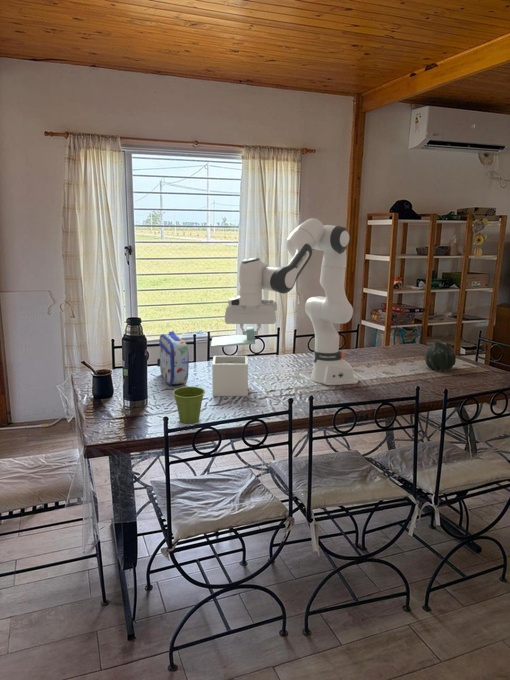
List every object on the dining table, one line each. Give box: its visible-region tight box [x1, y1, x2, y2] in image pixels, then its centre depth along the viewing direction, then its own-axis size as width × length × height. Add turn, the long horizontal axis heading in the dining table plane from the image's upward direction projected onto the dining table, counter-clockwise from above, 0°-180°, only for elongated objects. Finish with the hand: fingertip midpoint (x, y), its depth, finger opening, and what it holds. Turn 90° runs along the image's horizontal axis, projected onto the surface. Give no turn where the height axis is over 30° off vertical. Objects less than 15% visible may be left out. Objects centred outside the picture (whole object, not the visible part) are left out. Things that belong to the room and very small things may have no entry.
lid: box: [210, 326, 256, 349], centre depth 199 cm, size 17×15×5 cm
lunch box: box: [156, 330, 190, 385], centre depth 235 cm, size 28×10×22 cm, turn 23°
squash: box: [424, 341, 457, 372], centre depth 257 cm, size 14×15×15 cm
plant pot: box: [172, 386, 206, 424], centre depth 187 cm, size 12×12×11 cm
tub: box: [211, 355, 249, 397], centre depth 220 cm, size 15×14×14 cm
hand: (250, 334), depth 199 cm, fingers closed on lid, 3 cm apart
